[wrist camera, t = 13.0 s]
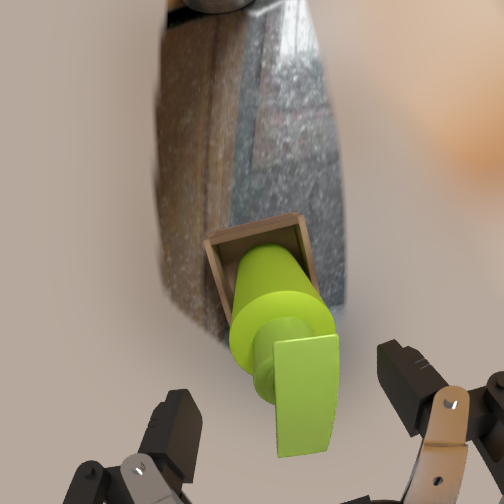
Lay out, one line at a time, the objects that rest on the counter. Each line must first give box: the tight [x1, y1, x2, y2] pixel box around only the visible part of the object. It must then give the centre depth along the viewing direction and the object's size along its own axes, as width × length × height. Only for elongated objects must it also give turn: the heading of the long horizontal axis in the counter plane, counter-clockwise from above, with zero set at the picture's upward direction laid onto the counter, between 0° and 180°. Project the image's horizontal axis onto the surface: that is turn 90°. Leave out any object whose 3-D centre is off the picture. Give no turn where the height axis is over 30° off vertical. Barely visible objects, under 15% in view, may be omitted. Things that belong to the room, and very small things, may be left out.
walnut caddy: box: [203, 211, 320, 327], centre depth 25 cm, size 9×8×5 cm
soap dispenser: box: [229, 243, 339, 458], centre depth 17 cm, size 6×7×20 cm
